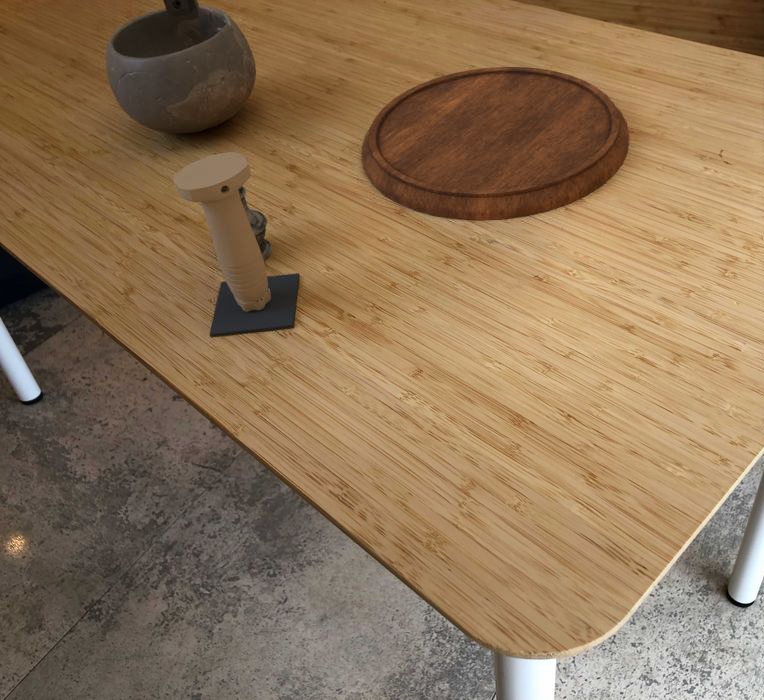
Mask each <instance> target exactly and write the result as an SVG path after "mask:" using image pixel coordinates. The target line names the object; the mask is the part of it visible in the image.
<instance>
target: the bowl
mask: <svg viewBox="0 0 764 700" xmlns="http://www.w3.org/2000/svg"><path fill="white" fill-rule="evenodd" d="M199 8H200V12H199V15H198V17H197V18H196V19H192V20H184V21H173V20H171V19H170V18H169V16H168V13H167V10H166V7H165V8H161V9H156V10H152V11H149V12H147V13H144V14H141V15H139V16H136V17H134V18H132V19H130V20H128V21H126V22H125V23H124V24H122V25H121V26H120V27H118V28H117V29H116V30H115V31H114V32H113V33H112V35H111V36H110V38H109V40H108V44H107V46H106V56H105V57H106V58H105V59H106V60H105V61H106V62H105V63H106V64H105V65H106V74H107V79H108V82H109V86H110V89H111V91H112V94H113V96H114V98H115V99H116V101H117V104H119V106H120V108H121V109H122V110H123V111H124V113H125V114H127V116H129V118H130V119H132V120H133V121H135V122H136V123H138V124H139V125H142V126H143V127H145V128H147V129H150V130H152V131H155V132H159V133H160V132H161V133H168V134H193V133H199V132H203V131H206V130H209V129H212V128H214V127H216V126H219V125H221V124H223V123H224V122H226V121H228V120H230V119H232V118H233V117H234V116H235V115H236V114H238V112H239V111H240V110H241V109H242V108H243V106H244V105H246V103H247V101H248V100H249V97H250V96H251V94H252V92H253V90H254V88H255V83H256V77H257V68H256V61H255V57H254V54H253V51H252V49H251V47H250V45H249V42H248V40H247V38H246V35H245V34H244V33H243V31H242V30H241V29H240V27H239V26H238V24H237V23H236V22H235V21H234V19H233V18H232V17H231V16H230V15H229V14H228V13H226V12H225V11H223V10H220V9H219V8H213V7H210V6H207V5H202V4H200V5H199Z"/></svg>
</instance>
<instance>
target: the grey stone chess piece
mask: <svg viewBox="0 0 764 700" xmlns="http://www.w3.org/2000/svg"><path fill="white" fill-rule="evenodd" d="M216 154H217V153H215V152H214V154H213V155H216ZM238 190H239V195H240V199H241V202H242V204H243V207H244V210H245V212H246V215H247V218H248V220H249V223H250V225H251V228H252V230H253V233H254V235H255V238H256V240H257V243H258V245H259V248H260V251H261V254H262V257H263V260H264V262H265V261H266V260H267V259H268V258H269V257H270V256H271V254H272V253H273V252H272V251H273V246H272V243H271V242H270V241H269V240H267V239H266V238H265V237H266V233H267V232H266V231H267V228H266V227H267V224H268V220H267V216H266V215H265V214H264V213H263V212H261V211H260V210H257V209H251V208H249V206H248V202H247V199H246V193H247V189H246V187H245V186H244V185H242V186H241V187H240V188H239V189H238ZM209 234H210V235H211V233H210V232H209Z"/></svg>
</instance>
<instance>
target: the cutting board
mask: <svg viewBox="0 0 764 700" xmlns="http://www.w3.org/2000/svg"><path fill="white" fill-rule="evenodd" d="M629 144H630V133H629V127H628V122H627V120H626V119H625V116H624V115H623V113H622V112H621V110H620V109H619V108H618V107H617V106H616V105H615V103H614V101H613V100H612V99H611V98H610V97H609V96H608V95H607V94H606V93H605V92H604V91H602V90H601V89H600V88H598V87H597V86H596V85H594V84H592V83H590V82H588V81H586V80H585V79H582V78H578V77H576V76H573V75H570V74H568V73H564V72H560V71H556V70H550V69H544V68H538V67H537V68H536V67H526V66H496V67H495V66H494V67H482V68H476V69H475V68H474V69H468V70H463V71H459V72H458V71H457V72H453V73H450V74H446V75H443V76H439V77H435V78H433V79H430V80H428V81H427V80H426V81H424V82H423V83H420V84H417V85H416V86H414V87H411V88H408V89H407V90H405V91H404V92H402V93H401V94H399V95H398V96H396V97H394V98H393V99H392V100H391V101H390V102H388V103H387V104H386V105H384V106H383V108H382V109H381V110H380V111H379V112H378V113H377V114H376V115H375V118H374V119H373V121H372V123H371V125H370V126H369V128H368V130H367V131H366V134H365V135H364V137H363V141H362V144H361V163H362V167H363V170H364V174H365V175H366V178H368V180H369V181H370V183H371V184H372V186H373V187H374V188H375V189H376V190H377V191H378V192H380V193H381V195H383V197H386V198H388V199H389V200H391V201H393V202H394V203H396V204H398V205H400V206H403V207H405V208H407V209H410V210H413V211H415V212H418V213H423V214H427V215H431V216H434V217H439V218H446V219H452V220H453V219H454V220H466V221H468V220H469V221H491V220H506V219H514V218H522V217H528V216H533V215H536V214H541V213H545V212H549V211H552V210H556V209H558V208H560V207H563V206H566V205H569V204H572V203H573V202H576V201H578V200H580V199H582V198H585V197H586V196H588V195H590V194H591V193H593V192H594V191H596V190H597V189H600V188H601V187H602V186H603V185H605V184H606V183H607V182H608V181H609V180H610V179H612V177H614V176H615V174H616V173H617V172H618V171H619V169H620V168H621V167H622V165H623V164H624V161H625V159H626V157H627V155H628V151H629Z"/></svg>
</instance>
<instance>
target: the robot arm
mask: <svg viewBox="0 0 764 700" xmlns="http://www.w3.org/2000/svg"><path fill="white" fill-rule="evenodd" d="M162 1H163V4H164V7H165V8H166V10H167V13H168V16H169V18H170V19H171V20H173V21H184V20H192V19H196V18H197V17H198V15H199V12H200V8H199V2H198V0H162Z"/></svg>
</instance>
